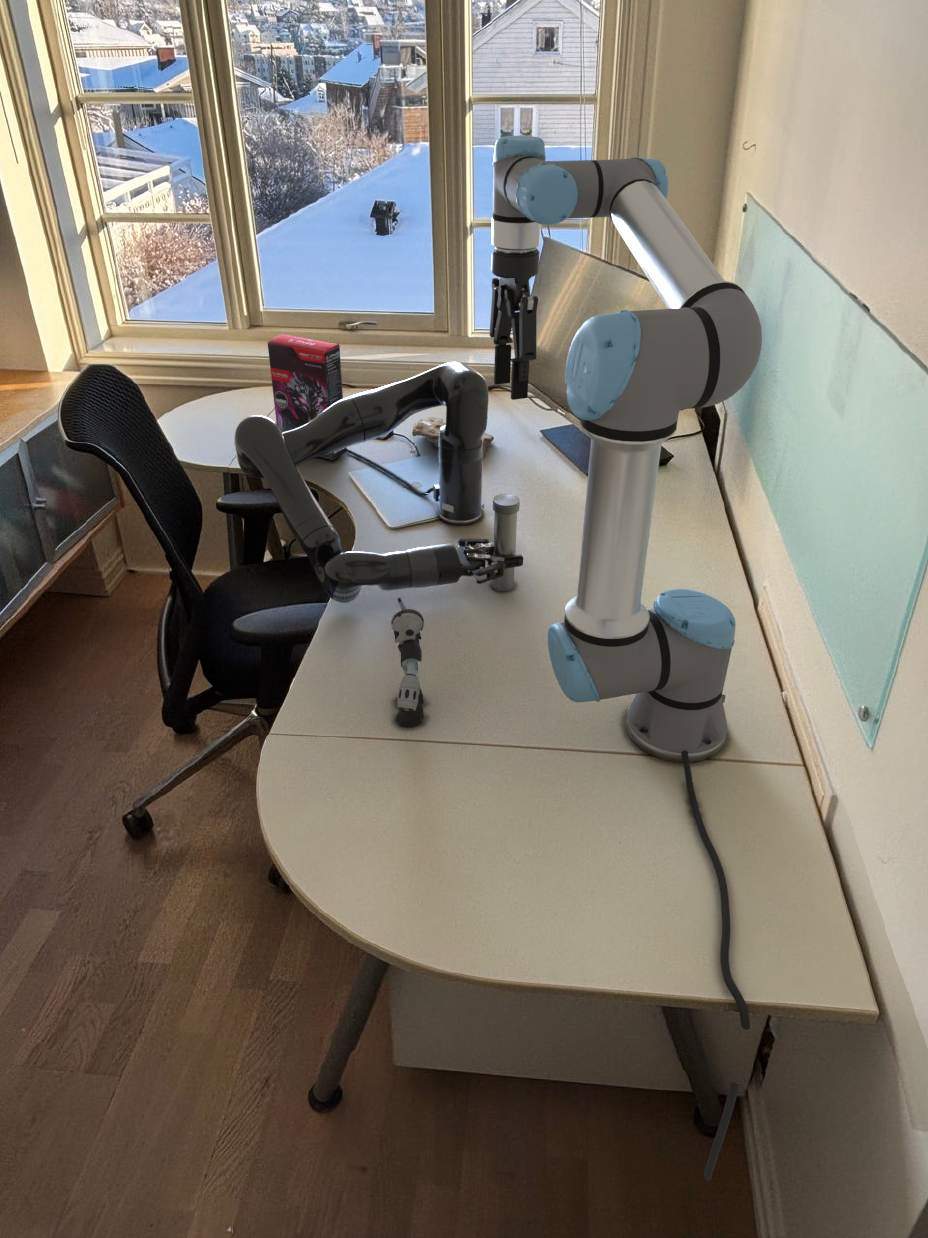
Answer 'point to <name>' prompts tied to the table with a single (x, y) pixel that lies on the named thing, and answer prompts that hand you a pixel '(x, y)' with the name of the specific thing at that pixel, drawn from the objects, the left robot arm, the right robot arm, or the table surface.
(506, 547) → the grey capped cylinder
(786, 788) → the table surface
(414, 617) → the robot
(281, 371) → the graphics card box
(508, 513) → the lid
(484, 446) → the stone
